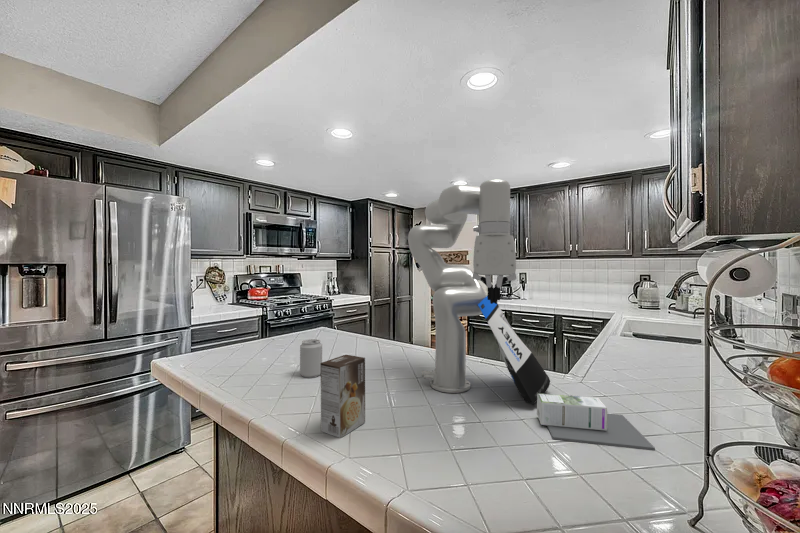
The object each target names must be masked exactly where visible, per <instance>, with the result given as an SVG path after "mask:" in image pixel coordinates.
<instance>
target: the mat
mask: <svg viewBox="0 0 800 533" xmlns="http://www.w3.org/2000/svg"><path fill="white" fill-rule="evenodd" d="M546 428H547V429H548V431H549V434H550V436H551V439H552V440H555V441H567V442H575V443H582V444H583V443H584V444H594V445H603V446H604V445H605V446H611V447H612V446H613V447H619V448H620V447H621V448H632V449H639V450H648V451H650V450H651V451H655V450H656V448H655V446H654V445H653V444H652V443H651V442H650V441H649V440H648V439H647V438H646V437H645V436H644V435H643V434H642V433H641V432H640V431H639V430H638V429H637V428H636V427H635V426H634V425H633V424H632V423H631V422H630V421H629V419H627V418H626V417H625V416H624V415H623V414H617V413H608V425H607V430H606V431H605V430H594V429H583V428H571V427H560V426H549V425H546Z"/></svg>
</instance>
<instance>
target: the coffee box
mask: <svg viewBox="0 0 800 533" xmlns="http://www.w3.org/2000/svg"><path fill="white" fill-rule="evenodd" d="M320 364H321V374H320V431H321V432H322V433H326V434H328V435H331V436H334V437H335V438H336V437H337V438H339V439H342V438H343V437H344V436H346V435H348V434H349V433H350V432H352V431H355V429H357V428H359V427H360V426H362V425H364V424H365V423H366V357H363V356H357V355H356V356H355V355H351V354H343V355H340V356H337V357H334V358H331V359H328V360H325V361H322V363H320Z"/></svg>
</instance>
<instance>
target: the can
mask: <svg viewBox="0 0 800 533" xmlns="http://www.w3.org/2000/svg"><path fill="white" fill-rule="evenodd" d="M299 362H300V363H299V374H300V375H301V376H302V377H303V378H308V379H312V378H316V377H319V376H321V364H320V363H322V362H323V343H321V340H320V339H318V338H317V339H316V338H309V339H305V340H302V342H301V345H300V346H299Z"/></svg>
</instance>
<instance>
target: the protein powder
mask: <svg viewBox="0 0 800 533" xmlns="http://www.w3.org/2000/svg"><path fill="white" fill-rule="evenodd" d="M478 306H479V308H480V309H481V312H482V313H483V314H482V315H483V316H484V318H485V320H486V322H487V324H488V326H489V328H490V330H491V331H492V333H493V336H494V338H495V341H496V344H497V346H498V349H499V352H500V354H501V356H502V359H503V361H504V363H505V366H506V368H507V371H508V372H509V374H510V377H511V379H512V381H513V383H514V385H515V387H516V389H517V391H518V393H519V395H520V398H522V400H523V401H524V402H527V403H530V404H533V406H534V405H535V403H537V394H538V393H540V394H546V392H547V391H548V389H549V387H550V384H551V380H550V377H549V376H548V374H547V372H546V371H545V369H544V368H543V367H542V365H541V363H540V362H539V360H537V358H536V357H535V355H534V354H533V352H532V351H531V350H530V349H529V348H528V347H527V345H526V344H525V343H524V342H523V340H522V339H521V338H520V337H519V335H517V333H516V332H515V330H514V329H513V327H512V326H511V324H510V323H509V321H508V320H507V318H506V316H505V315H504V312H503V310H502V309H501V307H500V305H499V304H498V303H497V304H495V303H493V304H491V303H490V300H488V295H486V297H485V298H484V299H483V300H482V301H481V302H480V303H479V304H478Z"/></svg>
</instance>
